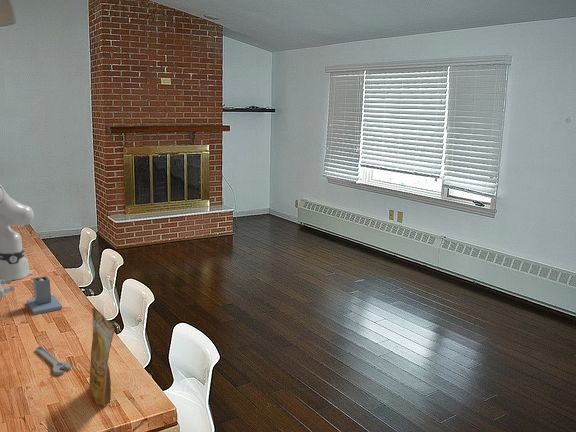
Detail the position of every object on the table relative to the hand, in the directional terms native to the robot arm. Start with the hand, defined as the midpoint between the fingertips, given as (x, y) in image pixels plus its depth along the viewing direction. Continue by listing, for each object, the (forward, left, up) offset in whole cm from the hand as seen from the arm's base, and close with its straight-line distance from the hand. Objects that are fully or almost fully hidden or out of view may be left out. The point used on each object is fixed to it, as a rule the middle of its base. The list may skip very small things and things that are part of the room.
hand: (12, 284), depth 245 cm
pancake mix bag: (+92, +12, -12) cm, 94 cm away
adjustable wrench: (+59, +4, -13) cm, 61 cm away
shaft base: (+3, +12, -12) cm, 17 cm away
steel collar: (+1, +12, -10) cm, 16 cm away
